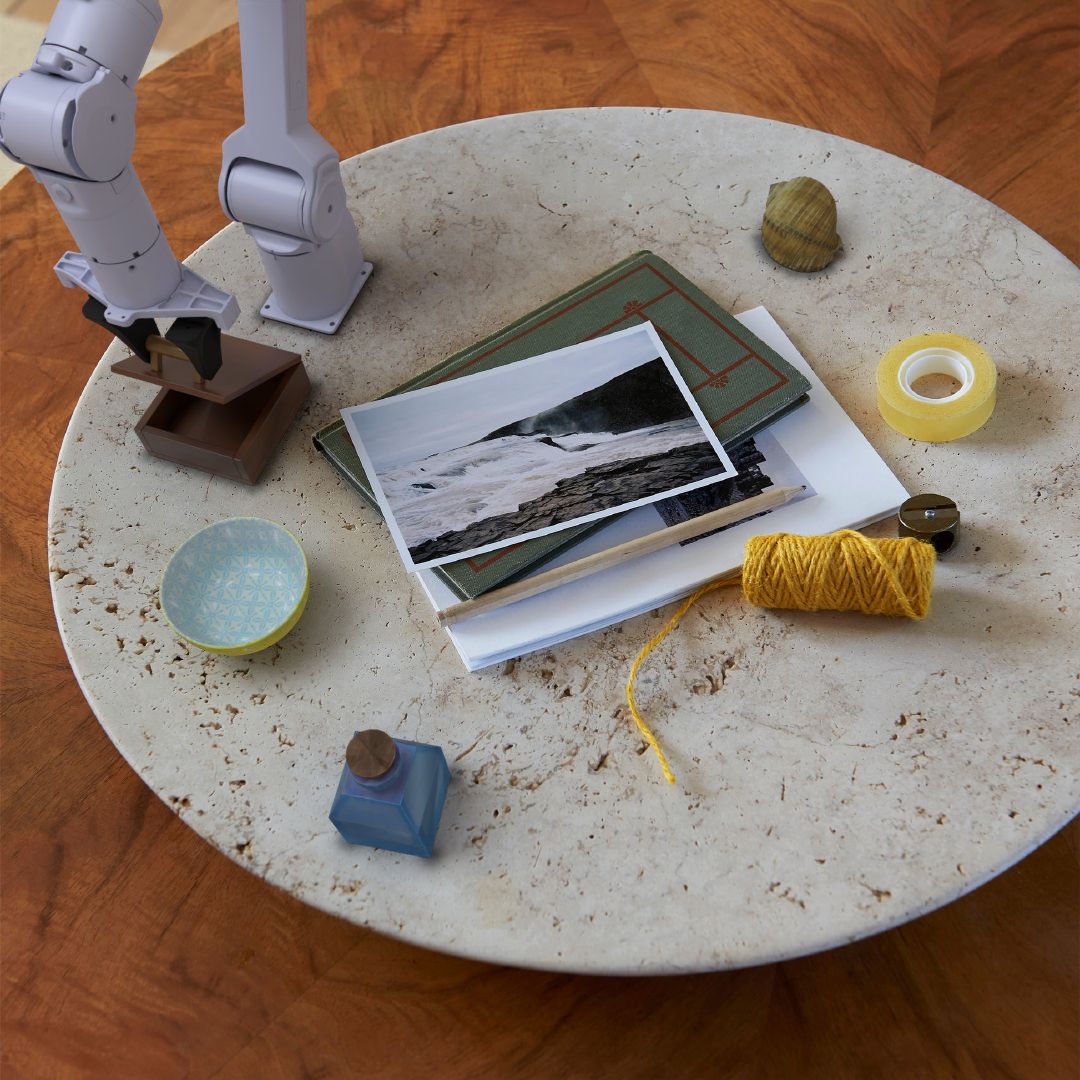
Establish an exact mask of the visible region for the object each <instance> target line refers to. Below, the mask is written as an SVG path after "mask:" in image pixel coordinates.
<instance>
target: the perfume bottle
mask: <svg viewBox="0 0 1080 1080" xmlns="http://www.w3.org/2000/svg"><path fill="white" fill-rule="evenodd" d="M344 757H345V762H344V766H343V769H342V771H341V775H340V778H339V781H338V784H337V788H336V791H335V795H334V799H333V801H332V804H331V808H330V811H329V815H328V817H327V818H328V819H329V820H330V822H331V823H332V825H333V826H334V827H335V828H336V830H337V831H338V833H339V834H340V836H342V838H343V839H344V840H345V842H346V843H350V844H353V845H354V844H355V845H360V846H364V847H370V848H375V849H380V850H384V851H389V852H394V853H400V854H405V855H409V856H414V857H419V858H423V859H429V860H430V859H431V856H432V853H433V848H434V844H435V840H436V836H437V833H438V828H439V825H440V821H441V817H442V812H443V809H444V805H445V800H446V797H447V793H448V789H449V785H450V781H451V777H452V774H451V772H450V769H449V765H448V763H447V759H446V757H445V754H444V751H443V748H442V746H439V745H434V744H428V743H424V742H419V741H413V740H409V739H408V740H407V739H403V738H402V739H401V738H397V737H392V736H391V735H390V734H388V733H386V732H385V730H384V731H383V730H381V729H378V728H377V729H376V728H369V729H365V730H361V731H359V730H354V732H353V736H352V738H351V739H350V740H349V742H348V744H347V746H346V749H345V755H344Z"/></svg>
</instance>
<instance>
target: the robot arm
mask: <svg viewBox="0 0 1080 1080" xmlns="http://www.w3.org/2000/svg"><path fill="white" fill-rule="evenodd" d="M237 11H238V30H239V46H240V47H239V48H240V60H241V61H240V62H241V63H240V64H241V75H242V76H241V77H242V78H241V79H242V94H243V95H242V96H243V97H242V98H243V111H244V124H243V125H241V126H240V127H238V128H237V129H236V130H234V131H233V132H231V134H229V135H228V136H227V137H226V138H225V139H224V140H223V142H222V143H221V148H222V149H221V151H222V164H221V169H220V173H219V178H218V183H217V184H218V185H217V193H218V199H219V203H220V207H221V209H222V212H223V213H224V215H225V216H226V218H227V219H229V220H230V221H231V222H235V223H241V224H242V227H243V231H244V233H245V234H246V235H248V236H250V237H251V238H253V240H254V242H255V246H256V247H257V250H258V253H259V256H260V259H261V262H262V265H263V267H264V270H265V272H266V275H267V278H268V281H269V284H270V287H271V289H272V292H271V293H270V295H269V296H268V298H267V299H266V301H265V302H264V303H263V306H262V307H261V308H260V311H259V313H260V316H262V317H263V318H267V319H271V320H273V321H278V322H283V323H285V324H290V325H292V326H293V325H294V326H297V327H301V328H304V329H308V330H312V331H313V330H314V331H317V332H320V333H323V334H328V335H332V334H334V333H335V332H336V331H337V330H338V328H339V326H340V325H341V323H342V322H343V319H344V318H345V316H346V315H347V313H348V312H349V310H350V308H351V307H352V304H353V303H354V302H355V300H356V298H357V297H358V295H359V293H360V292H361V290H362V288H363V287H364V285H365V283H366V282H367V280H368V278H370V275H371V273H372V272H373V270H374V266H373V263H371V262H369V261H365V259H364V255H363V250H362V247H361V243H360V239H359V235H358V231H357V227H356V224H355V222H356V221H355V219H354V216H353V215H352V213H351V211H350V209H349V208H348V206H347V192H346V188H345V186H344V183H343V179H342V175H341V166H340V165H341V164H340V153H339V152H338V150H337V149H336V148H335V147H334V146H333V145H332V144H331V143H330V142H329V141H328V139H325V137H324V136H323V135H322V134H320V132H319V131H318V130H317V129H316V128H315V127H314V126H313V125H312V123H310V113H309V112H310V110H309V74H308V73H309V71H308V69H309V67H308V29H307V27H308V26H307V0H237ZM163 20H164V15H163V9H162V7H161V4H160V0H58V2H57V4H56V7H55V9H54V12H53V14H52V16H51V18H50V21H49V23H48V26H47V28H46V30H45V33H44V35H43V38H42V40H41V42H40V45H39V47H38V49H37V52H36V54H35V56H34V58H33V61H32V63H31V66H30V68H29V69H25V70H21V71H19V75H14V76H12V77H11V78H9V79H8V80H7V81H6V82H5V83H4V84H3V86H1V88H0V151H1V152H2V154H3V155H4V156H5V157H7V158H8V159H9V160H10V161H12V162H14V163H16V164H19V165H23V166H25V167H26V168H27V169H29V171H30V172H31V174H32V175H33V178H34V179H35V181H36V183H38V184H42V185H43V186H44V188H45V190H46V191H47V194H48V195H49V197H50V199H51V200H52V202H53V205H54V207H55V208H56V209H57V211H58V213H59V214H60V217H61V218H62V220H63V222H64V224H65V226H66V228H67V230H68V231H69V233H70V234H71V236H72V238H73V240H74V242H75V244H76V245H77V248H78V250H79V251H80V252H75V251H71V250H67V251H65V252H64V254H63V255H62V256H61V258H60V259H59V260H58V262H57V263H56V264H55V265H54V266H53V268H52V269H53V271H54V273H55V274H56V276H57V278H58V280H59V281H60V283H61V284H62V287H65V288H68V289H76V288H77V287H79V288H81V289H82V290H83V291H85V292H86V293H87V296H88V299H87V300H86V301H85V303H84V304H83V305H82V308H81V313H82V314H83V316H84V319H86V320H88V321H91V322H93V323H95V324H96V325H99V326H100V327H101V328H104V329H105V330H106V331H108V332H110V333H111V334H112V335H114V336H115V337H116V338H117V339H119V340H120V341H121V342H122V343H123V344H124V345H125V346H126V347H127V348H128V349H130V351H132V353H134V355H135V354H136V355H137V356H138V357H139V358H140V359H141V360H142V361H144V362H145V363H149V364H151V360H150V351H148V350H147V349H146V339H147V337H148V336H149V335H151V334H154V335H158V336H161V337H162V334H161V331H160V328H159V327H158V324H157V322H156V320H155V319H167V318H175V320H174V321H173V322H172V323H171V325H170V327H169V328H168V329H167V331H166V332H165V334H164V335H163V337H165V339H166V340H168V341H170V342H172V343H174V344H175V345H176V346H178V347H179V348H180V349H181V350H182V351H183V352H184V353H185V354H186V355H187V357H188V358H189V359H190V361H191V363H192V364H193V366H194V368H195V369H196V371H197V372H198V374H199V375H200V376H201V377H202V378H203V379H206V380H209V381H211V380H212V379H213V378H214V376H215V375H216V373H217V372H218V370H219V369H220V367H221V366H222V364H223V362H222V353H221V333H222V330H224V331H230V330H231V328H232V327H233V326H234V324H236V321H237V320H238V318H239V316H240V315H241V313H242V310H241V308H240V305H239V302H238V300H237V297H236V295H235V294H234V293H232V292H229V291H226V290H223V289H221V288H219V287H218V286H216V285H215V284H213V283H212V282H210V281H209V280H207V279H205V278H204V277H203V276H201V274H198V273H197V272H195V271H194V270H192V268H190V267H189V266H187V265H186V264H184V263H182V262H181V261H180V260H178V259H177V258H176V257H175V255H174V253H173V250H172V248H171V245H170V244H169V241H168V239H167V237H166V235H165V232H164V230H163V228H162V225H161V223H160V222H159V220H158V218H157V215H156V213H155V210H154V209H153V206H152V204H151V202H150V199H149V198H148V195H147V193H146V191H145V189H144V187H143V184H142V183H141V179H140V177H139V175H138V173H137V171H136V169H135V166H134V164H133V162H132V160H131V157H132V156H133V153H134V150H135V144H136V135H137V134H136V122H135V121H136V120H135V116H136V111H137V109H138V106H139V105H138V104H137V102H138V96H137V94H135V93H134V91H135V89H136V87H137V84H138V81H139V79H140V77H141V75H142V72H143V69H144V67H145V65H146V62H147V60H148V57H149V55H150V52H151V51H152V47H153V46H154V43H155V41H156V38H157V35H158V33H159V31H160V28H161V25H162V23H163Z"/></svg>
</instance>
